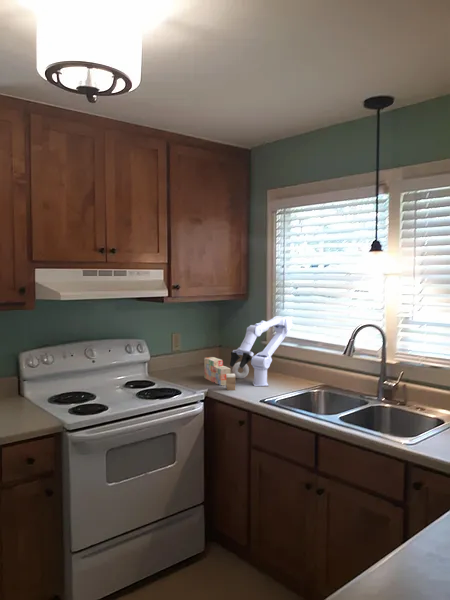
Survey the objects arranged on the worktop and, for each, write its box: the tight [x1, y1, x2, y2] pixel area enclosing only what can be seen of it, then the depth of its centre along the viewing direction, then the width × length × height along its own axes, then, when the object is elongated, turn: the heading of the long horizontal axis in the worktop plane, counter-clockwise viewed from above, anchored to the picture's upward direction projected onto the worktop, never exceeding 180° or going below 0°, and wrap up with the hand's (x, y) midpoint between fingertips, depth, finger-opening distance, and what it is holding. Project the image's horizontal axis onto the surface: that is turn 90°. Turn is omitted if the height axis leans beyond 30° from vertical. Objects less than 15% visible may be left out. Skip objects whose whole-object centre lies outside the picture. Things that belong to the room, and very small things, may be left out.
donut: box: [231, 361, 250, 380], centre depth 297 cm, size 10×3×10 cm, turn 101°
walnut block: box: [225, 373, 236, 391], centre depth 272 cm, size 4×4×8 cm
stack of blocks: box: [203, 356, 231, 386], centre depth 290 cm, size 21×6×12 cm, turn 27°
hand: (235, 366), depth 268 cm, fingers open, 7 cm apart
